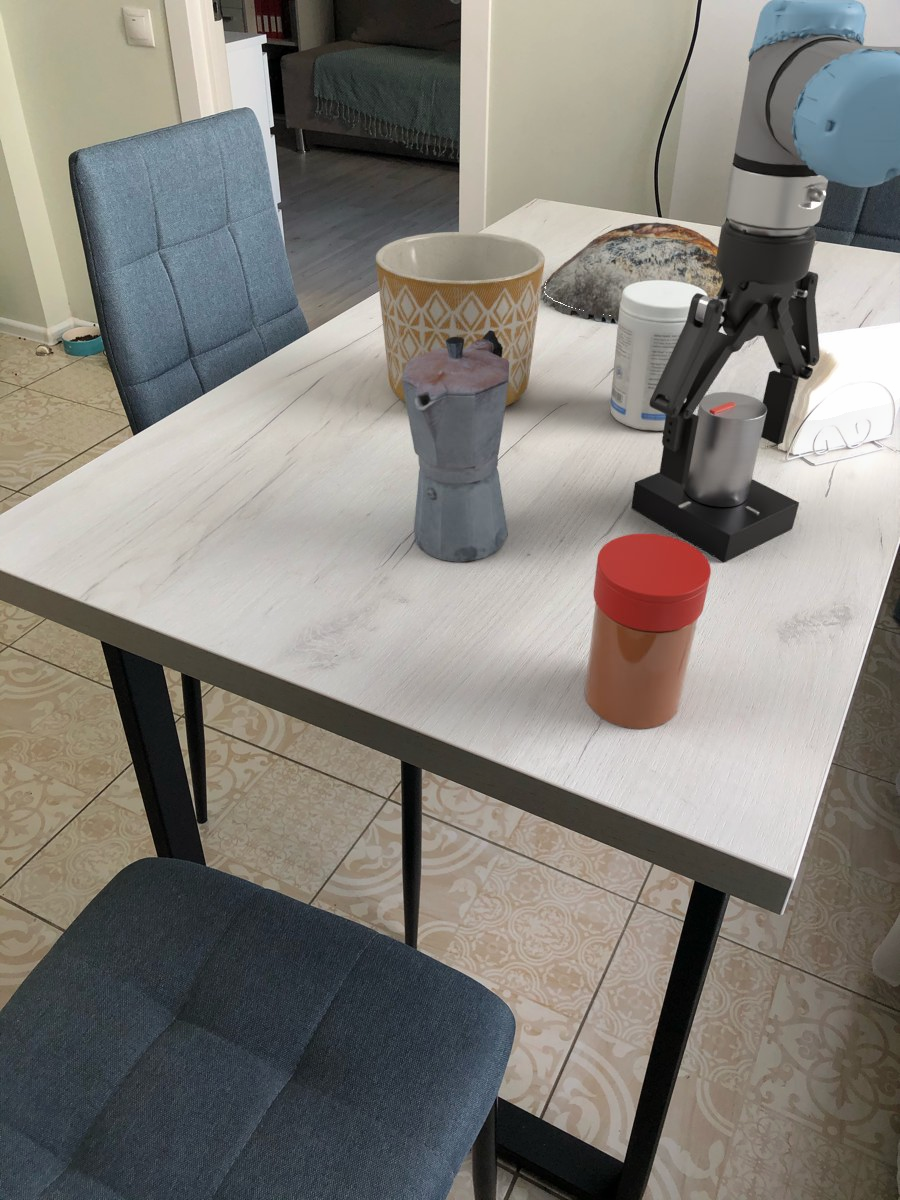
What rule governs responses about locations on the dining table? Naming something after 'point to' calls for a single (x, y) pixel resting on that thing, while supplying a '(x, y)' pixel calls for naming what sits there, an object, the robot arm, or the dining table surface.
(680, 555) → the lid
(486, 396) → the moka pot
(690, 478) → the dial
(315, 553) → the dining table surface
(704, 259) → the bread
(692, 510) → the panel
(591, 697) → the jar
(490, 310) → the planter
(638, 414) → the supplement tub
